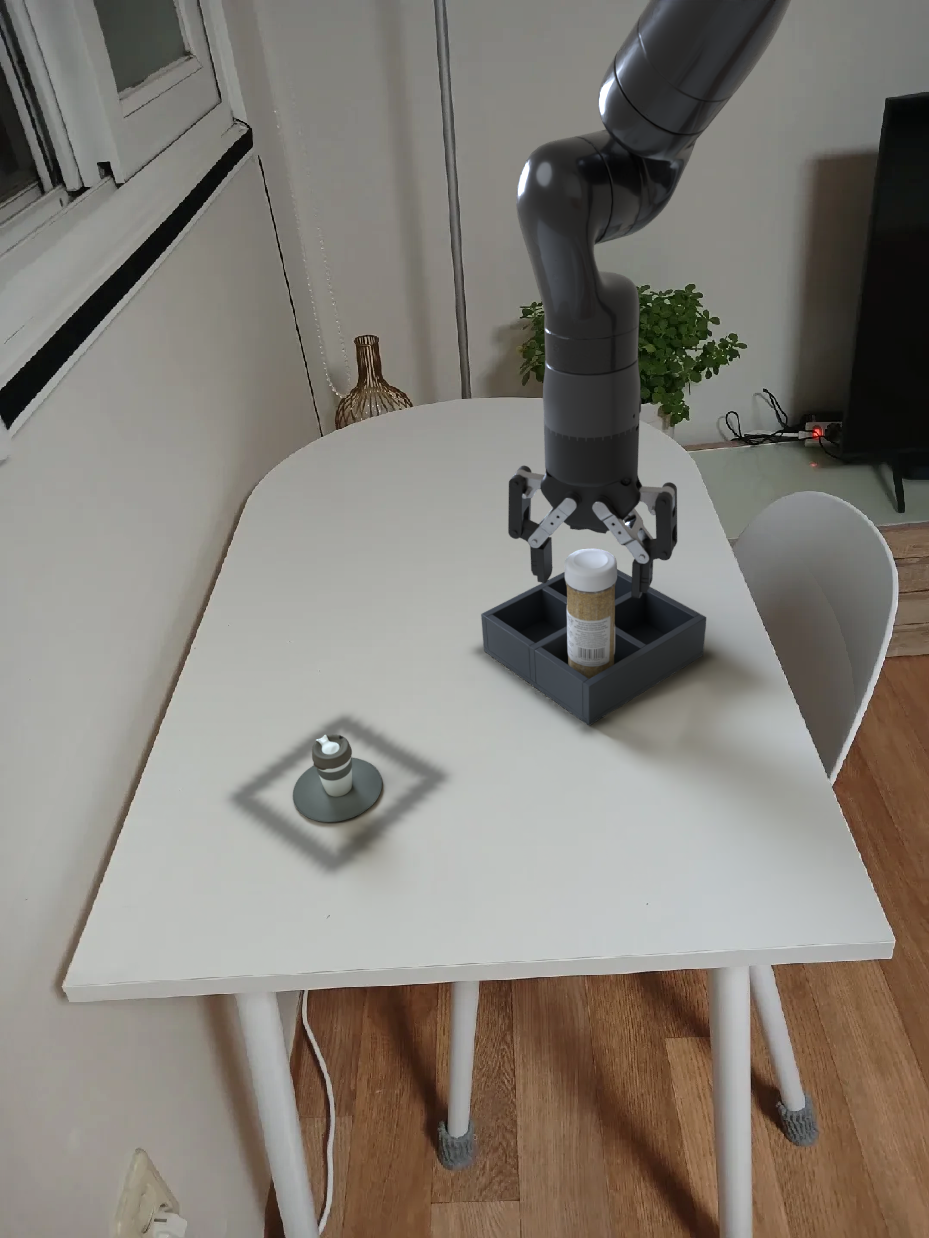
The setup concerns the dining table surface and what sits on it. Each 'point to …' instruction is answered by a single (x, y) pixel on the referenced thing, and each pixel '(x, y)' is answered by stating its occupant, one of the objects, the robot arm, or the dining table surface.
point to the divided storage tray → (644, 645)
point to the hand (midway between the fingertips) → (591, 585)
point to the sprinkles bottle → (590, 610)
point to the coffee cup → (336, 782)
